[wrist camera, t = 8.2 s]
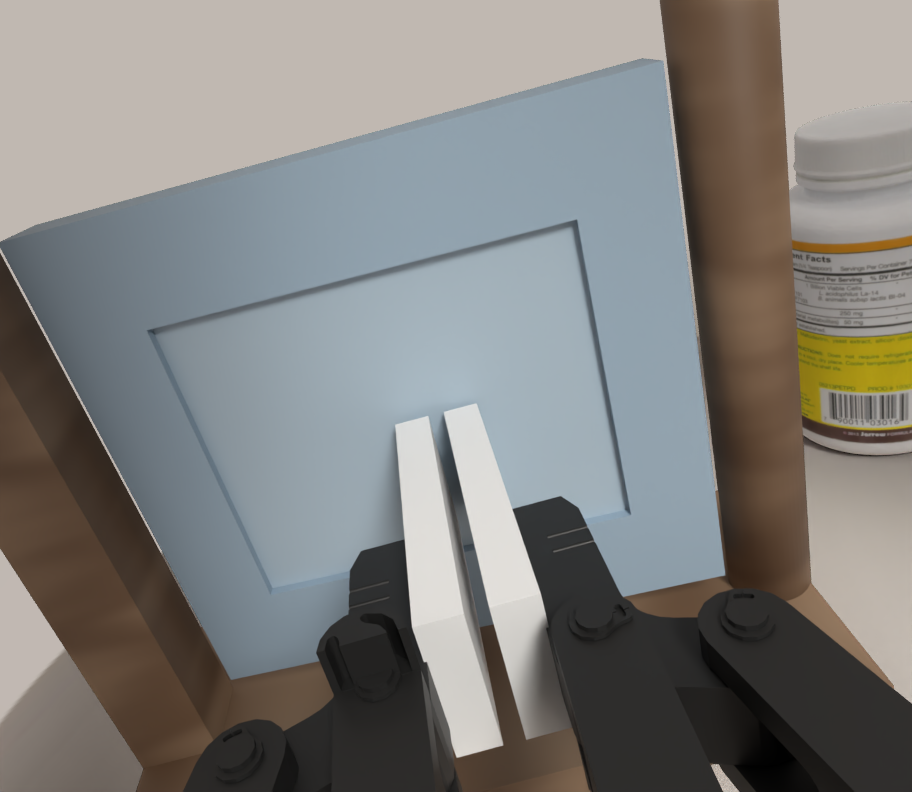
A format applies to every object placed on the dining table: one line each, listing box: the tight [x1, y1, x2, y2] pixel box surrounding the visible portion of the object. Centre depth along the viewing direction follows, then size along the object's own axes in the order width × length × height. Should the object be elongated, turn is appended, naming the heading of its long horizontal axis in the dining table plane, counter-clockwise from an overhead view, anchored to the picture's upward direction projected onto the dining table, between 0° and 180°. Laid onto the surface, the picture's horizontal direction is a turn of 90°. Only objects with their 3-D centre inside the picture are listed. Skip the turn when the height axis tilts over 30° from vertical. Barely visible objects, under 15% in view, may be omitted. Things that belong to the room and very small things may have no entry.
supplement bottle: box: [789, 101, 912, 455], centre depth 24 cm, size 6×6×10 cm
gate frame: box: [0, 0, 894, 792], centre depth 15 cm, size 18×8×22 cm, turn 96°
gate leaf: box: [0, 58, 725, 680], centre depth 17 cm, size 13×2×12 cm, turn 92°
